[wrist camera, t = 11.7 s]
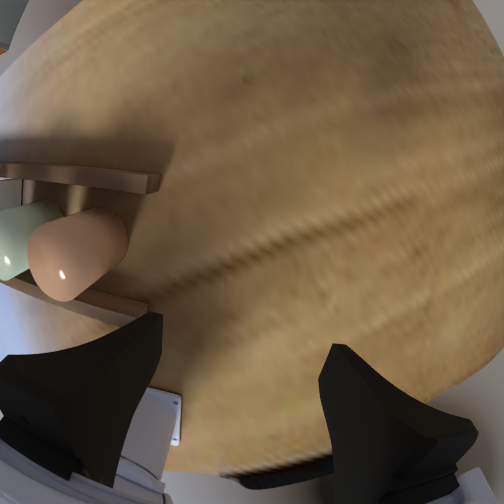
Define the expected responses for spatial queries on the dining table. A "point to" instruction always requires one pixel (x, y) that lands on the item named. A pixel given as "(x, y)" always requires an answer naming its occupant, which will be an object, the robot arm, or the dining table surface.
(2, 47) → the alarm clock
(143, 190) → the lane
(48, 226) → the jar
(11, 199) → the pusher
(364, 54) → the dining table surface
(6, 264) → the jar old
